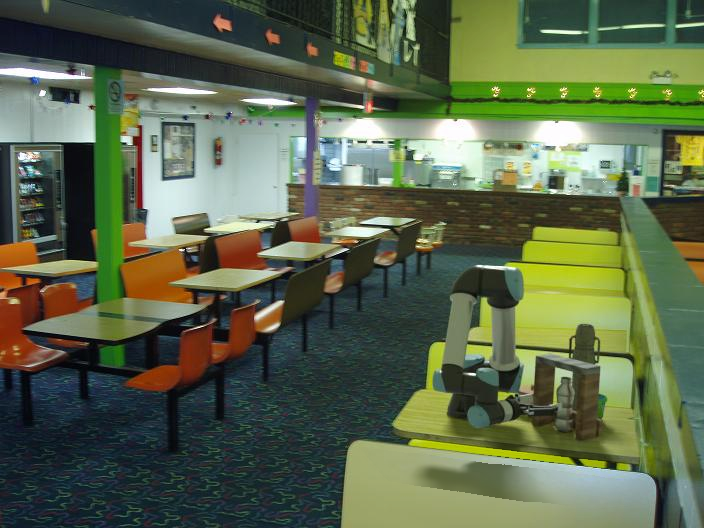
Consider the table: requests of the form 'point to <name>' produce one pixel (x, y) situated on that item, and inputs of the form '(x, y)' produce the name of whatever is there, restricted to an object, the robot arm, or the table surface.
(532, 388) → the lidded bowl
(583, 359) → the thermos
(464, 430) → the table surface
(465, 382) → the robot arm
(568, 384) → the plastic bottle
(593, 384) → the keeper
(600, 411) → the snack cup
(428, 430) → the table surface
